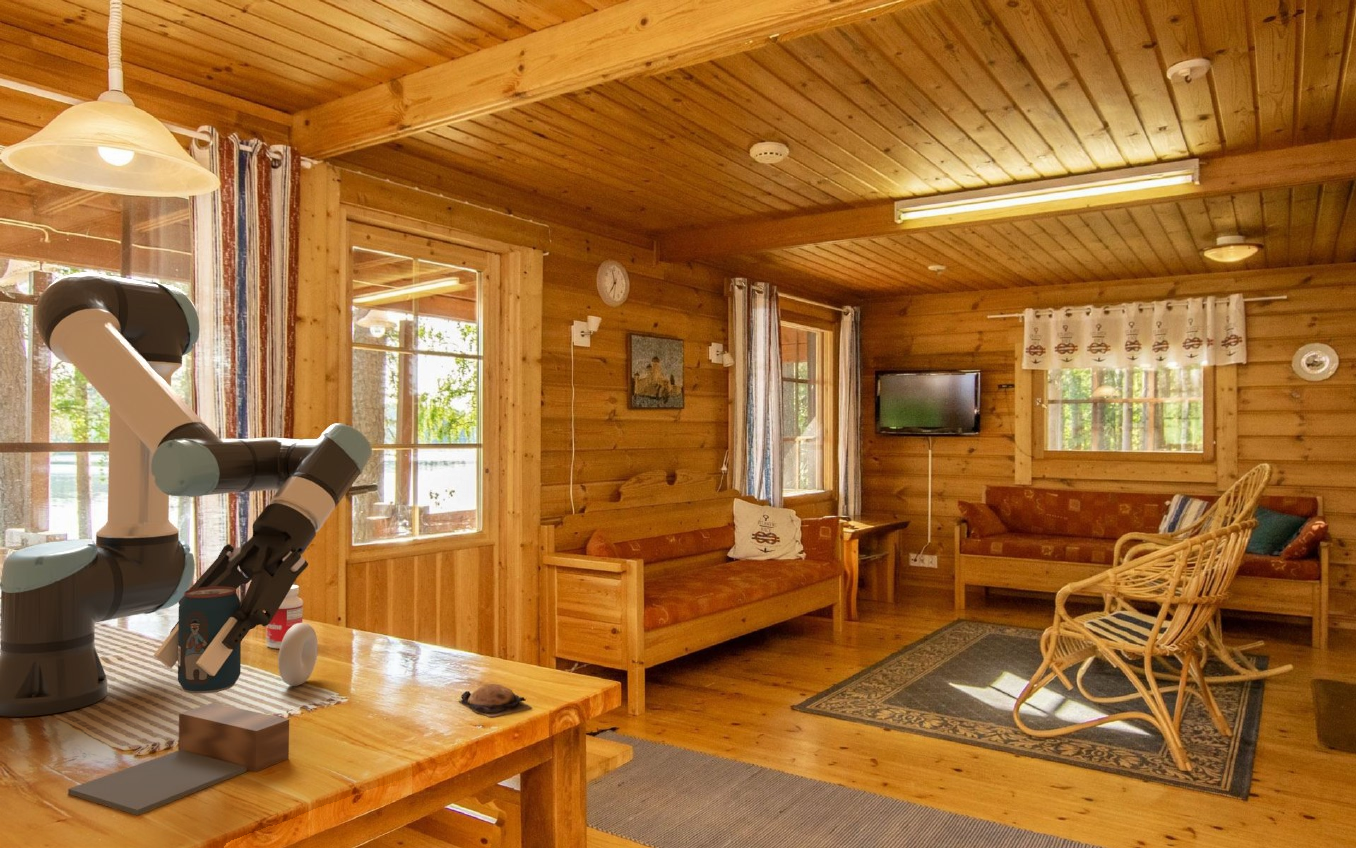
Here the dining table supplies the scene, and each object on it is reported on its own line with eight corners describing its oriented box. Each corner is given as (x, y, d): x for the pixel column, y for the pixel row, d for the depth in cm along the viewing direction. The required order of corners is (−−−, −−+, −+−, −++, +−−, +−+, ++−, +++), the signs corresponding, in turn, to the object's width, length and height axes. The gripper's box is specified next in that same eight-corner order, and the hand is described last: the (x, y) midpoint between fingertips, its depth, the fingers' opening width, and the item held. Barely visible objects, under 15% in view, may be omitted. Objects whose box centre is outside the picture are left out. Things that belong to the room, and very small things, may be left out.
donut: (295, 694, 144) (296, 630, 144) (273, 694, 144) (274, 630, 144) (320, 676, 154) (321, 616, 154) (299, 676, 154) (301, 616, 154)
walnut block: (178, 752, 119) (179, 713, 119) (212, 740, 123) (213, 702, 123) (255, 771, 113) (256, 731, 113) (288, 758, 117) (289, 719, 117)
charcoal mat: (68, 794, 105) (68, 788, 105) (180, 754, 118) (180, 750, 118) (137, 815, 100) (137, 810, 100) (246, 771, 113) (246, 767, 113)
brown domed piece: (535, 712, 140) (536, 688, 140) (486, 723, 134) (486, 698, 134) (500, 695, 148) (501, 672, 148) (452, 704, 142) (453, 680, 142)
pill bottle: (260, 645, 173) (261, 586, 173) (291, 639, 178) (292, 582, 178) (277, 651, 169) (278, 591, 169) (308, 645, 174) (309, 586, 174)
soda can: (236, 676, 119) (237, 583, 119) (244, 690, 113) (245, 592, 113) (175, 684, 115) (176, 588, 115) (180, 698, 109) (181, 597, 109)
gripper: (362, 540, 124) (260, 693, 109) (257, 531, 132) (149, 672, 118) (332, 504, 119) (221, 658, 104) (225, 497, 127) (109, 639, 113)
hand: (183, 665), depth 111 cm, fingers closed on soda can, 7 cm apart
